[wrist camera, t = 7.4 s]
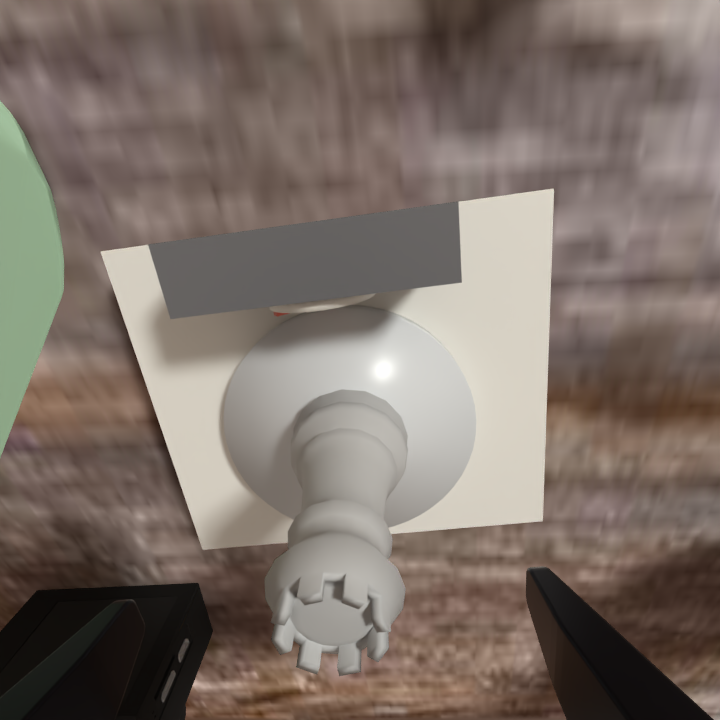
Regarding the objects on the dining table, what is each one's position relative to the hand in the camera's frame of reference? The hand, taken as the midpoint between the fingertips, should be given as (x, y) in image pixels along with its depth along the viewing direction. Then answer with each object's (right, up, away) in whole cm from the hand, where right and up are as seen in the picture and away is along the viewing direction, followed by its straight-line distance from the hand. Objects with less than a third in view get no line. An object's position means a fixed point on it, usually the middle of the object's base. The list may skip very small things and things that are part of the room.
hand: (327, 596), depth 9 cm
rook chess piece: (0, +2, +7) cm, 7 cm away
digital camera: (-14, -11, +16) cm, 24 cm away
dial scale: (0, +5, +10) cm, 11 cm away
